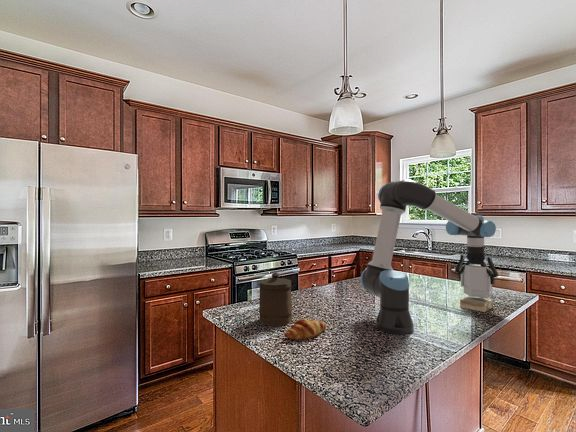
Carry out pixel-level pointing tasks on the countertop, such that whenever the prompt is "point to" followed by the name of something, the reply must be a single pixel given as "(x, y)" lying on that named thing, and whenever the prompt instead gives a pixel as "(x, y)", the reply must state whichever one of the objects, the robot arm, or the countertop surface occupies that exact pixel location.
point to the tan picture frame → (476, 303)
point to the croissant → (305, 329)
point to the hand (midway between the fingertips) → (475, 288)
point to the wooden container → (275, 301)
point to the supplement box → (476, 281)
